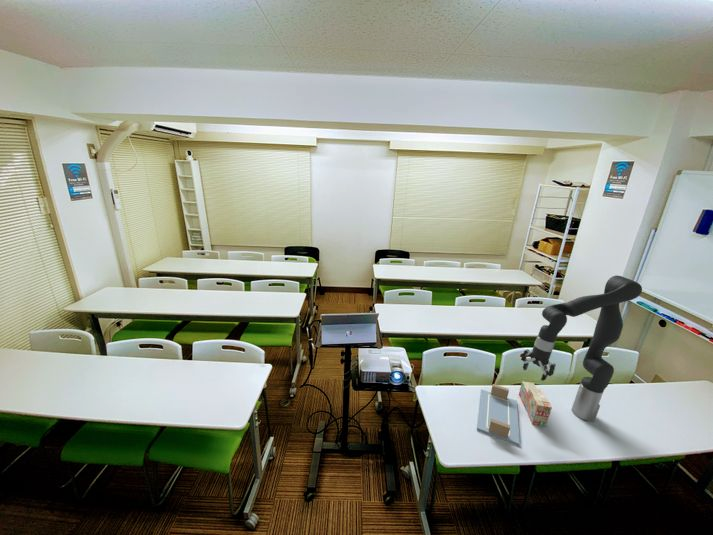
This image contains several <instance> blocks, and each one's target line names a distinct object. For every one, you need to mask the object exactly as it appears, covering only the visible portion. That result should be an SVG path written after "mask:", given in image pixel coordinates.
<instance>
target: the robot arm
mask: <svg viewBox="0 0 713 535" xmlns="http://www.w3.org/2000/svg"><path fill="white" fill-rule="evenodd" d="M642 291H643V287H642V284H640V283H639V282H637V281H635V280H633V279H630V278H627V277H626V276H625V277H624V276H622V275H613V276H611V277H610V278H608V279H607V281H606V282H605V285H604V291H603V293H600V294H593V295H592V294H590V295H586V296H585V295H583V296H580V297H577V298H574V299H573V300H570V301H567V302H561V303H555V304H551V305H548V306H546V307H545V308H544V309H543V310H542V311H541V312H542V313H541V316H542V317H543V319H545V320H546V321H547V322H548V323H549V324H543V325H542V326H540V329H539V332H538V335H537V336H536V339H535V341H534V344H533V346H532V350H531V351H530V350H529V349H525V350H524V351H523V353H522V355H521V358H520V360H521V361H522V362H523V365H522V369H523V371H527V370H528V367H529V363H532V364H534V365H536V366H537V367H539V368H540V369H541V371H542V375H541V378H540V381H546V380H547V378H548V377H552V376H553V375H554V372H555V369H556V363H552V362H550V357H551V356H552V352H553V351H554V347H555V342H556V341H557V337H558V334H559V333H561V331H562V330H563V328H564V327H565V326H566V324H567V322H568V317H567V316H569V317H573V318H574V317H575V318H577V317H578V316H581V315H583V314H586V313H588V312H591V311H594V310H597V309H600V312H599V315H598V319H597V321H596V324H595V328H594V331H593V336H592V337H591V338H592V339H591V342H590V343H589V347H588V348H587V351H586V353H585V356H584V357H583V360H582V367H583V368H584V369H585V370H586V371H587V372H588V373H589V374H591V375H592V377H591V376H584V377H582V378H581V381H580V383H579V386H578V389H577V392H576V394H575V396H574V397H575V398H574V401H573V404H572V407H571V412H572V413H573V414H574V416H576V417H577V418H579V419H582V420H584V421H588V422H592V421H593V422H595V421H596V418H597V416H598V414H599V410H600V407H601V404H600V403H601V402H600V401H601V399H602V397H603V393H604V391H605V390H606V388H607V387H608V386H609V384H610V381H611V380H612V378H613V375H614V372H615V368H614V366H613V365H612V364H611V363H609V362H608V361H607V360H605V359H604V358H603V353H604V351H605V349H607V347H609V346H611V345H612V344H614V343H616V342H617V341H618V340H619V339H620V338H621V337H620V336H621V333H622V330H623V326H624V323H623V322H624V321H623V317H622V312H621V310H620V309H621V308H620V304H621V303H626V302H630V301H632V300H634V299H637V298H638V297H639V296H640V295H641V294H642ZM528 356H530V358H529V359H527V357H528ZM548 367H549V369H548Z"/></svg>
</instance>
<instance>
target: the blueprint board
mask: <svg viewBox="0 0 713 535" xmlns="http://www.w3.org/2000/svg"><path fill="white" fill-rule="evenodd" d="M509 391H510V389H509V388H507V387H504V386H501V385H497V384H494V383H493V384H492V386H491V390H490V391H488V390H484V389H480V396H479V397H480V398H479V403H478V404H479V405H478V413H477V414H478V415H477V423H476V430H477V431H479V432H480V433H484V434H487V435H490V436H492V437H494V438H497V439H500V440H503V441H505V442H508V443H511V444H513V445H516V446H519V447H520V444H521V443H520V430H519V427H520V426H519V415H518V414H519V413H518V411H519V410H518V401H517V399H513V398H509V393H510V392H509Z"/></svg>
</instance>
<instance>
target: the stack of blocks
mask: <svg viewBox="0 0 713 535" xmlns="http://www.w3.org/2000/svg"><path fill="white" fill-rule="evenodd" d="M519 388H520V389H519V392H518V396H519V399H520V401H521V403H522V405H523V407H524V409H525V411H526V413H527V416H528V418H529V421H530V423H531V425H533V426H540V427H544V428H545V427H546V426H547V423H548V420H549V417H550V415H551V411H552V408H553V407H552V405H551V403H550V401H549V399H548V398H547V397H546V395H545V393H544V391H543V390H542V389H539V388H537V387H536V385H535V383H534V382H529V381H523V380H522V381H521V383H520V386H519Z"/></svg>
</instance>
